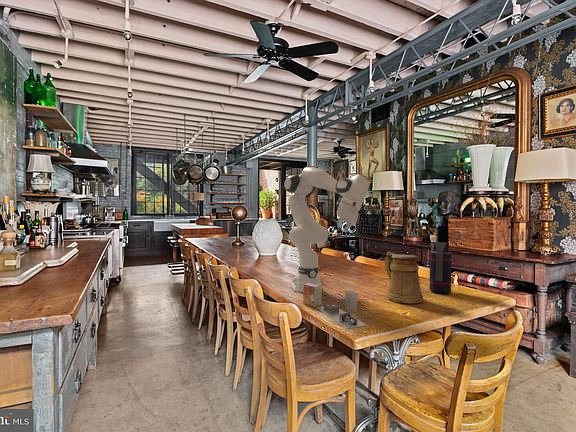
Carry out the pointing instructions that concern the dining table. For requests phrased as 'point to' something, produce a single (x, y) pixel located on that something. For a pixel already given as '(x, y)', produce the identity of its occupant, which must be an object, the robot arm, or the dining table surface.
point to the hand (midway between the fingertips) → (342, 229)
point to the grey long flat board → (340, 316)
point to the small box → (312, 294)
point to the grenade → (440, 268)
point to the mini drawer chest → (351, 301)
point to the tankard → (403, 278)
